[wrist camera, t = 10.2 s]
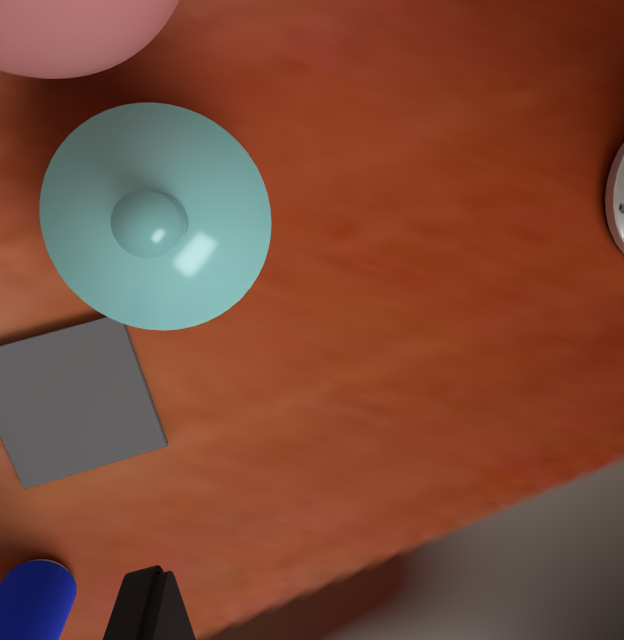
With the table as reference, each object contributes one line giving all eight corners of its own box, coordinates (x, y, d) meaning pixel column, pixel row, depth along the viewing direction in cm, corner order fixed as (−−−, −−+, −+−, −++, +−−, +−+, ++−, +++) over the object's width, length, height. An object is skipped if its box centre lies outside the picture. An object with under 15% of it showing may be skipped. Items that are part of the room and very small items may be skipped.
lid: (237, 83, 26) (238, 51, 21) (292, 295, 29) (306, 314, 24) (10, 135, 25) (-49, 116, 20) (92, 350, 28) (60, 383, 23)
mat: (121, 312, 33) (119, 314, 32) (167, 442, 35) (166, 446, 35) (-32, 353, 32) (-37, 356, 31) (27, 484, 34) (24, 489, 34)
